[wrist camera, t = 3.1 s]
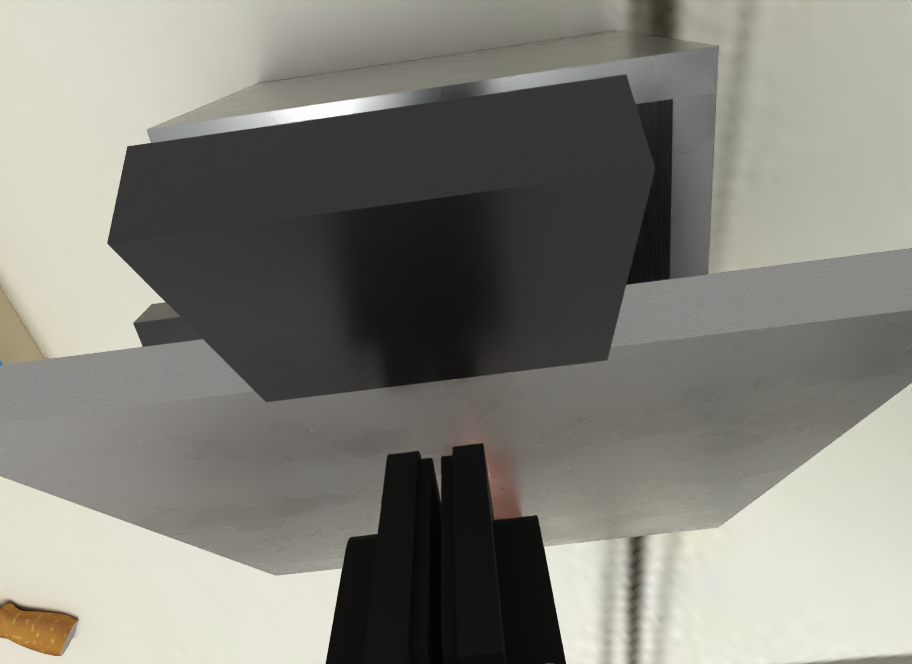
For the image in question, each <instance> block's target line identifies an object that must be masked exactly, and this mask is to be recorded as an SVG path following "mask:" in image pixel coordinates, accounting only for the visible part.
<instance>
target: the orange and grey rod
mask: <svg viewBox="0 0 912 664" xmlns="http://www.w3.org/2000/svg"><path fill="white" fill-rule="evenodd" d="M77 623H78V620H77V619H75V618H73V617H72V616H69V615H65V614H62V613H53V612H42V611H22V610H19V609H17V608H16V607H15V606H14V605H13V604H12V603H7V604H5V605H4V606H3V607H2V608H0V637H1V638H6V639H9V640H11V641H13V642H15V643H17V644H19V645H21V646H24V647H26V648H29V649H31V650H34V651H38V652H41V653H44V654H49V655H53V656H62V654H63V653H64V652H65V650H66V649H67V647H68V645H69V643H70V641H71V640H72V637H73V635H74V633H75V630H76V626H77Z"/></svg>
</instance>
